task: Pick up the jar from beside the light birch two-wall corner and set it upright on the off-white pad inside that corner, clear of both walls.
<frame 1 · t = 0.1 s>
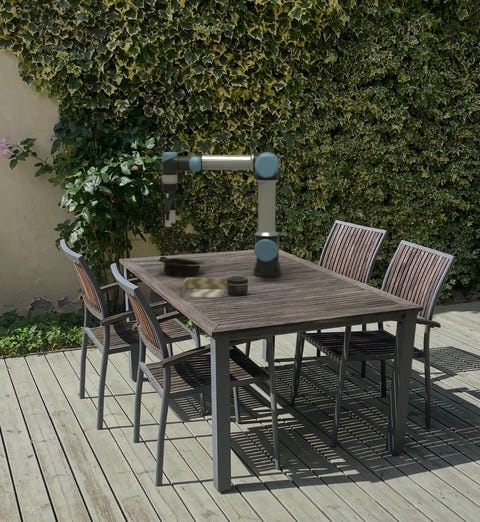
hand: (170, 224, 379), 28 cm above the table, fingers open, 13 cm apart
jar: (237, 294, 351), on the table
stone bowl: (182, 274, 395), on the table
arena: (207, 293, 352), on the table
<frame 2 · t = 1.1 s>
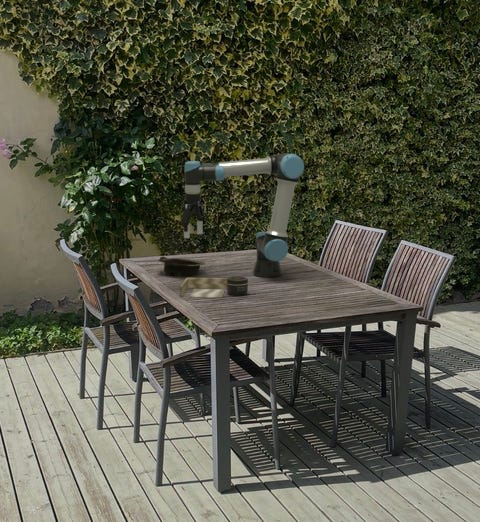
hand: (193, 236, 368), 24 cm above the table, fingers open, 13 cm apart
nothing on the table moved.
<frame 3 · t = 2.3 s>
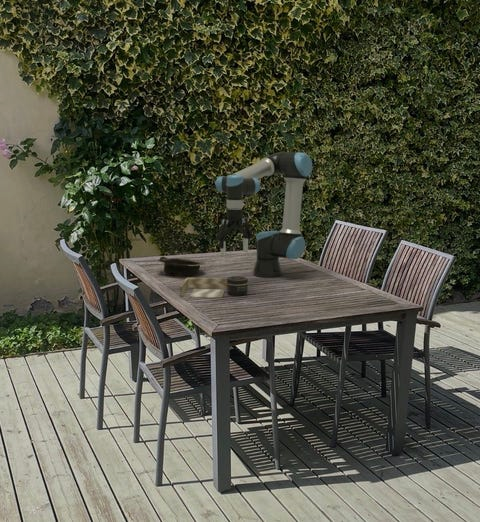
hand: (234, 253, 349), 19 cm above the table, fingers open, 13 cm apart
nothing on the table moved.
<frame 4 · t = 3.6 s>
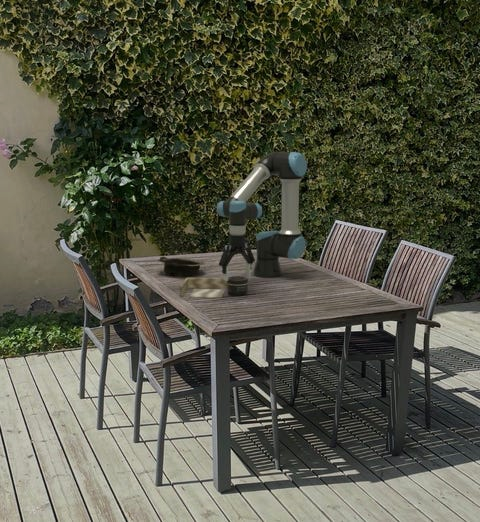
hand: (236, 278, 350), 7 cm above the table, fingers open, 13 cm apart
nothing on the table moved.
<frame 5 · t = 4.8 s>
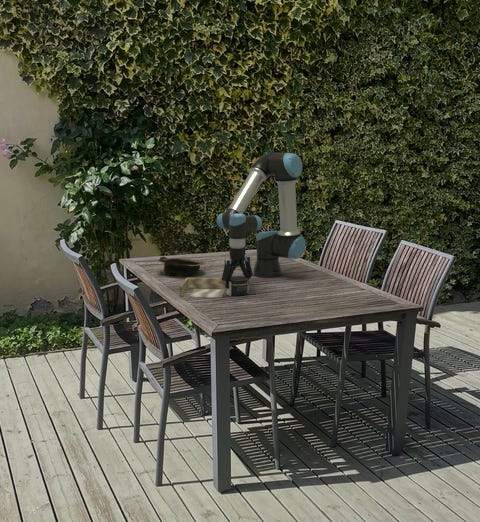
hand: (237, 293, 351), 0 cm above the table, fingers closed on jar, 10 cm apart
jar: (237, 294, 351), on the table, touching gripper
everything else where it was.
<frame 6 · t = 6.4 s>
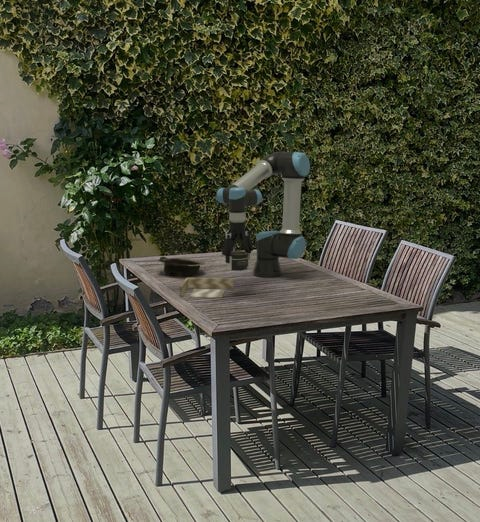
hand: (237, 268, 349), 12 cm above the table, fingers closed on jar, 10 cm apart
jar: (237, 269, 349), point 12 cm above the table, touching gripper
everything else where it was.
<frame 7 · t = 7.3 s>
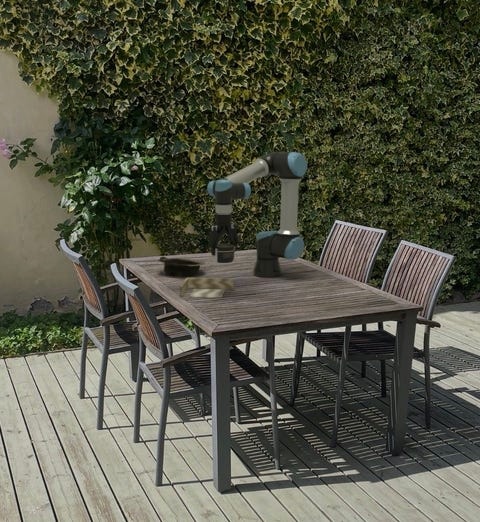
hand: (223, 260, 348), 16 cm above the table, fingers closed on jar, 10 cm apart
jar: (223, 261, 348), point 16 cm above the table, touching gripper
everything else where it was.
when the fingers open (2 cm above the table, at t = 10.9 s): jar drops 1 cm, resting on arena.
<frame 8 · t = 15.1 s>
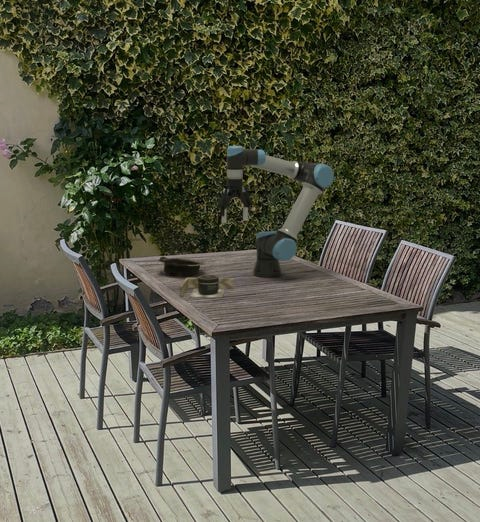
hand: (234, 221, 364), 32 cm above the table, fingers open, 13 cm apart
jar: (208, 293, 352), resting on arena
everything else where it was.
at the end: jar inside the target area on the arena (0.4 cm from its centre), point 0.2 cm above the arena's base; jar tilted 0°; the gripper is holding nothing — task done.
